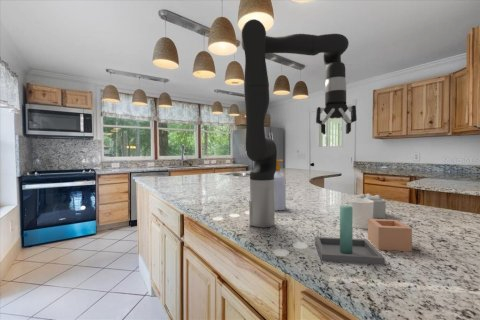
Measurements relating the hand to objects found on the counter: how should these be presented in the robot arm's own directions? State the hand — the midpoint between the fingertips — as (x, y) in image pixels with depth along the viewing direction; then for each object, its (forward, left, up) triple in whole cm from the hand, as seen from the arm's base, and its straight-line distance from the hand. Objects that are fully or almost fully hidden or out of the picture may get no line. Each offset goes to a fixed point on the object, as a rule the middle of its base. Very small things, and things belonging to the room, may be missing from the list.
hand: (335, 134), depth 90 cm
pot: (+9, -24, -34) cm, 43 cm away
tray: (-4, -31, -34) cm, 46 cm away
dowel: (-4, -31, -33) cm, 45 cm away
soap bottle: (-23, +18, -34) cm, 45 cm away
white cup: (+7, -7, -34) cm, 36 cm away
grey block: (+16, +13, -35) cm, 40 cm away
